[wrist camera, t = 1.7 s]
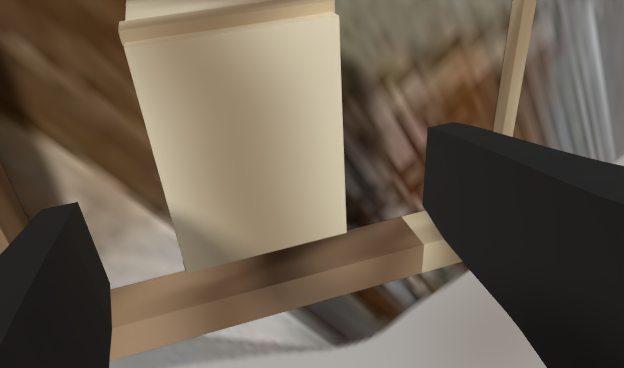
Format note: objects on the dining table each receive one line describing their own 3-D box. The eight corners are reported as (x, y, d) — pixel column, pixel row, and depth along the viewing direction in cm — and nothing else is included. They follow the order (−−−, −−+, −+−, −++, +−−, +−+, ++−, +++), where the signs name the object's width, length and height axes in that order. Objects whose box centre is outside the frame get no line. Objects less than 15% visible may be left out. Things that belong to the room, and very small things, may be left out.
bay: (568, -271, 13) (628, -293, 12) (488, 220, 23) (516, 246, 21) (-295, -260, 9) (-387, -291, 8) (37, 339, 18) (28, 383, 17)
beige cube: (282, -30, 15) (340, 3, 10) (299, 159, 18) (348, 239, 14) (122, -11, 14) (118, 35, 9) (173, 186, 17) (186, 280, 13)
